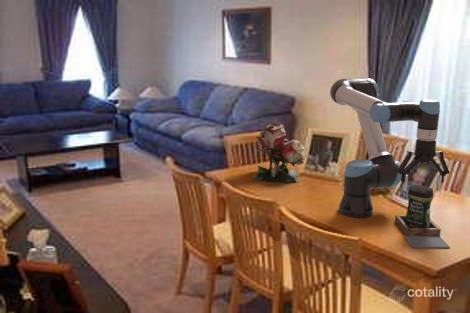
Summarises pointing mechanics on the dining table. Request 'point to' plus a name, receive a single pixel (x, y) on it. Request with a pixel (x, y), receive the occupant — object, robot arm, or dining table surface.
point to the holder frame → (430, 231)
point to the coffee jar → (419, 206)
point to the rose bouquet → (279, 155)
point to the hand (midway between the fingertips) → (421, 190)
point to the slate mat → (426, 242)
